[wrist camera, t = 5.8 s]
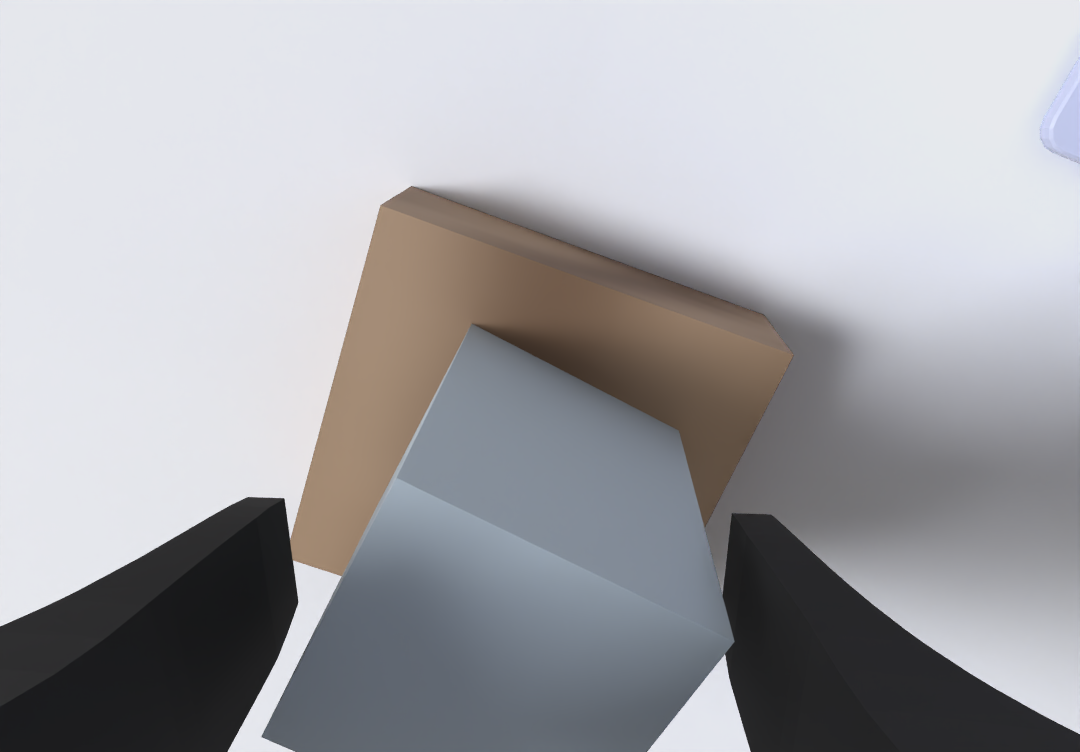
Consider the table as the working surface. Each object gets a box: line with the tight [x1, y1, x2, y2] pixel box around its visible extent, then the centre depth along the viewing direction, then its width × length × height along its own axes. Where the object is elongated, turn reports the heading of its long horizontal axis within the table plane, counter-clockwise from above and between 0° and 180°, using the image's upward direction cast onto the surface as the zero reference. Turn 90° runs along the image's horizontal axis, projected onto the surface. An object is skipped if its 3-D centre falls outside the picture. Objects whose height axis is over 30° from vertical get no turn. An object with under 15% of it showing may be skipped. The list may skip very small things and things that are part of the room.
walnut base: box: [290, 186, 794, 576], centre depth 17 cm, size 8×8×3 cm
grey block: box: [262, 324, 735, 752], centre depth 12 cm, size 4×4×6 cm
